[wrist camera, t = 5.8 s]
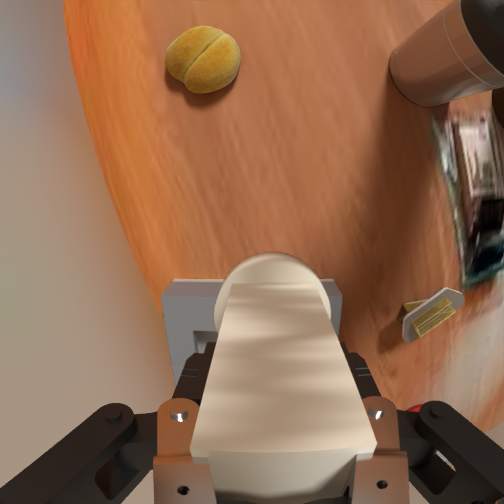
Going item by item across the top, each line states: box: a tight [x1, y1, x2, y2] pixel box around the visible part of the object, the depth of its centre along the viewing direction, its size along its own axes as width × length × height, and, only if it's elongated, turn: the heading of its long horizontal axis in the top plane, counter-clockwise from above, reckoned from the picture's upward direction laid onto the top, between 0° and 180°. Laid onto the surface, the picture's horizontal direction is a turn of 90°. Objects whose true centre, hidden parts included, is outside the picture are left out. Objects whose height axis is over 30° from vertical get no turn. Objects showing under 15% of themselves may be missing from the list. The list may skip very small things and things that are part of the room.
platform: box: [398, 287, 464, 343], centre depth 35 cm, size 12×18×7 cm, turn 124°
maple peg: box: [190, 252, 377, 504], centre depth 12 cm, size 6×6×12 cm
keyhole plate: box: [161, 279, 343, 386], centre depth 37 cm, size 20×14×6 cm
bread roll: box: [165, 26, 241, 93], centre depth 30 cm, size 8×9×4 cm
